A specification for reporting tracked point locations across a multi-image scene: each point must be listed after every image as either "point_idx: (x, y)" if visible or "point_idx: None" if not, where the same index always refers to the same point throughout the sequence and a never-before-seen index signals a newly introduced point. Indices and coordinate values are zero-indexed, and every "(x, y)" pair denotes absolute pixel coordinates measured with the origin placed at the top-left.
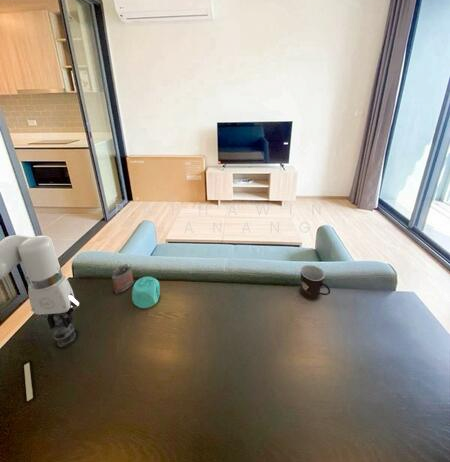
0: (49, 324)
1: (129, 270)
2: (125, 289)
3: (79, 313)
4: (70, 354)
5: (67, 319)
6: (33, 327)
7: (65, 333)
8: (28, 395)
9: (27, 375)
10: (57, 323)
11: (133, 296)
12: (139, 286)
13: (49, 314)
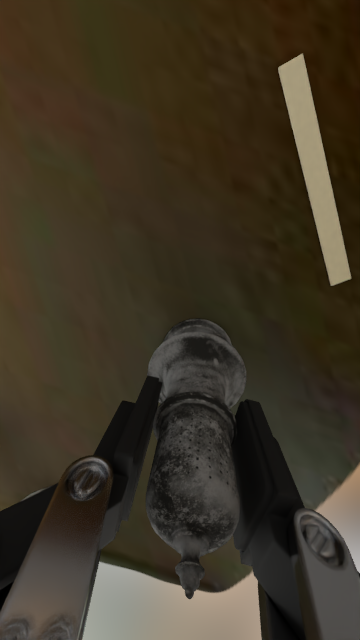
0: (269, 436)
1: None
2: (33, 493)
3: None
4: (162, 269)
5: (119, 432)
6: (341, 449)
7: (179, 356)
8: (302, 88)
9: (326, 215)
10: (205, 423)
11: None
12: None
13: (286, 567)
